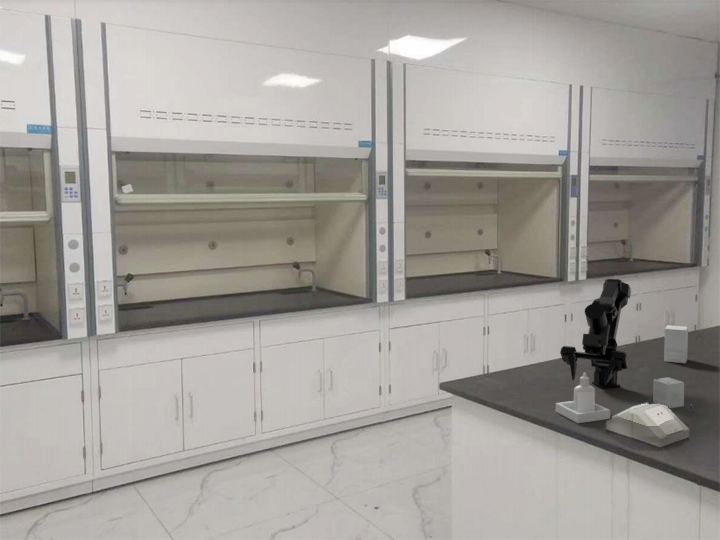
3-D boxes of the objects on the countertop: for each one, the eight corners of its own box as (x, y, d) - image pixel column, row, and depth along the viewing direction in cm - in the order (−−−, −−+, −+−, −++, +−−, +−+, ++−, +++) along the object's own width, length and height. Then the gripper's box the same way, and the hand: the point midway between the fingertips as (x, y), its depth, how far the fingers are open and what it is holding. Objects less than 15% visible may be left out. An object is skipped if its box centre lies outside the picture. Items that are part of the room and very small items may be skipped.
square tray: (586, 407, 188) (586, 399, 188) (609, 418, 178) (610, 410, 178) (555, 411, 185) (555, 403, 185) (577, 423, 175) (577, 414, 175)
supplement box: (687, 359, 239) (688, 326, 238) (685, 363, 233) (686, 330, 232) (666, 357, 243) (667, 324, 242) (663, 361, 237) (664, 328, 235)
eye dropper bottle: (593, 417, 178) (594, 375, 177) (572, 415, 180) (573, 374, 179) (595, 412, 182) (595, 371, 181) (574, 410, 184) (575, 370, 183)
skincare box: (684, 406, 186) (685, 382, 186) (667, 409, 185) (668, 384, 184) (668, 400, 192) (669, 376, 191) (652, 402, 191) (652, 378, 190)
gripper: (562, 320, 195) (551, 364, 187) (627, 325, 185) (619, 371, 177) (568, 339, 202) (558, 382, 194) (631, 345, 192) (623, 391, 184)
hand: (588, 381), depth 187 cm, fingers open, 9 cm apart
